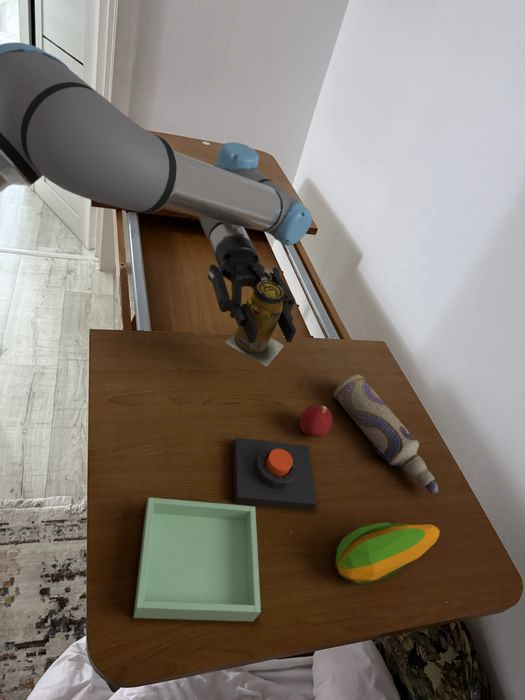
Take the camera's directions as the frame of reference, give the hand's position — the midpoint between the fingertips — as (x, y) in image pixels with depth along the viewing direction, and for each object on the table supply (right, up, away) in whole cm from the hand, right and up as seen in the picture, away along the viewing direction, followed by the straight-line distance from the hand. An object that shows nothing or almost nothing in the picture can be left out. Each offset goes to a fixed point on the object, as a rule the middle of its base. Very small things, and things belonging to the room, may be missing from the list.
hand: (273, 336), depth 82 cm
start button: (+1, -21, 0) cm, 21 cm away
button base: (0, -23, +2) cm, 23 cm away
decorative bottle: (+20, -20, +14) cm, 31 cm away
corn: (+17, -34, -2) cm, 38 cm away
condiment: (-3, -1, +8) cm, 9 cm away
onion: (+7, -18, +11) cm, 22 cm away
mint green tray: (-11, -32, -11) cm, 36 cm away
